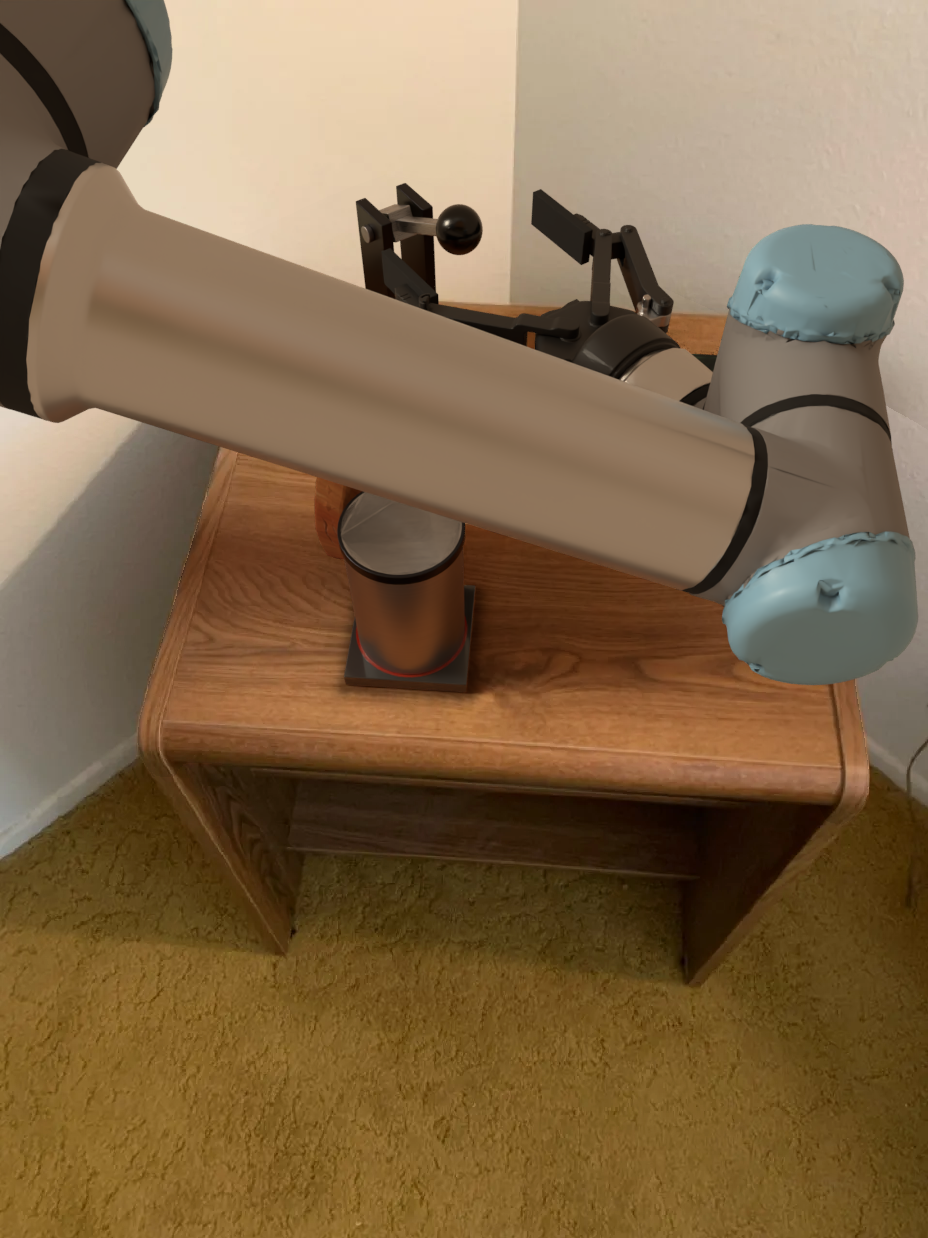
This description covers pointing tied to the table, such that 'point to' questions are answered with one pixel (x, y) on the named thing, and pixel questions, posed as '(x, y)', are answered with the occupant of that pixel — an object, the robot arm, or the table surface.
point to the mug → (330, 513)
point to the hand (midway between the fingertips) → (463, 235)
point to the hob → (439, 679)
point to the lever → (439, 227)
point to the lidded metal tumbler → (404, 582)
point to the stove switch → (380, 237)
